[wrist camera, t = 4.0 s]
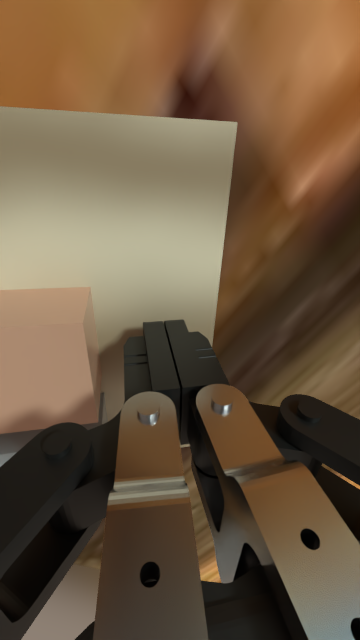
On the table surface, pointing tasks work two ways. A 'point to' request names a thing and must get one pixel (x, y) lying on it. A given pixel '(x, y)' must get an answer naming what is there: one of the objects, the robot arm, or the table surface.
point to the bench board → (116, 218)
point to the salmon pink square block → (48, 358)
